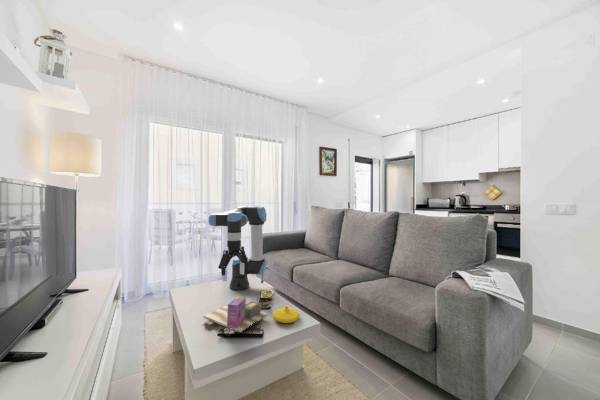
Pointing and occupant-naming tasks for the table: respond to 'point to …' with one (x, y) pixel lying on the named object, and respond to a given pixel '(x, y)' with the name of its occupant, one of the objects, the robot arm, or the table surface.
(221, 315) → the beige cloth
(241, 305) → the box
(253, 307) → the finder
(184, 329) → the table surface
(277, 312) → the yellow pattypan squash
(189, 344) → the table surface
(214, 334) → the table surface
